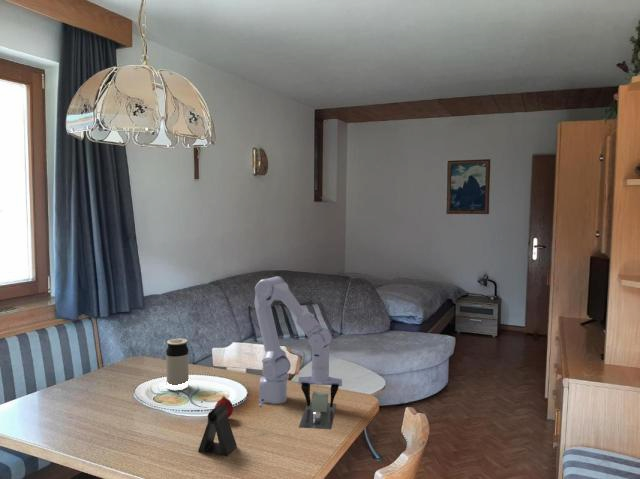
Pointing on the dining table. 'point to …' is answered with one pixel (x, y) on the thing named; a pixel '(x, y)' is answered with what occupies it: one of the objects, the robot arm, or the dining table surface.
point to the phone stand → (218, 433)
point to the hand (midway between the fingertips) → (320, 405)
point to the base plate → (324, 418)
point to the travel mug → (177, 361)
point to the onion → (228, 405)
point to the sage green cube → (320, 401)
